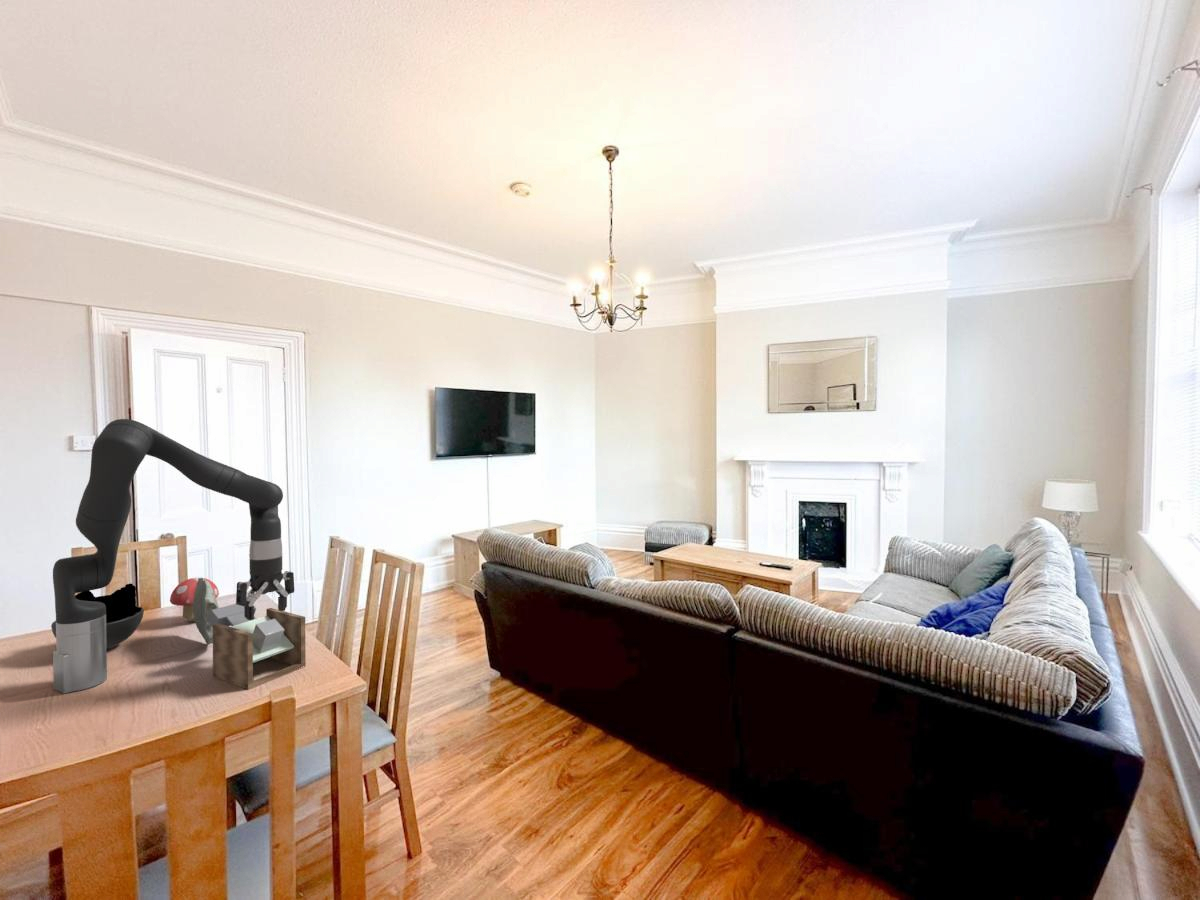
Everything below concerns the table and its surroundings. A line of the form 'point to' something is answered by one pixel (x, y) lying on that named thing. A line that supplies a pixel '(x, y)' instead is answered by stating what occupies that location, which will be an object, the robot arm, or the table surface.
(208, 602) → the rock
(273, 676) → the wooden bench shelf
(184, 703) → the table surface
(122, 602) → the coal bowl
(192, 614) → the decorative mushroom
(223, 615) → the trapdoor
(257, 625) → the gray block
